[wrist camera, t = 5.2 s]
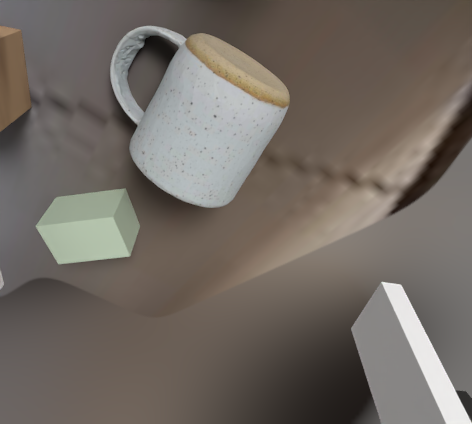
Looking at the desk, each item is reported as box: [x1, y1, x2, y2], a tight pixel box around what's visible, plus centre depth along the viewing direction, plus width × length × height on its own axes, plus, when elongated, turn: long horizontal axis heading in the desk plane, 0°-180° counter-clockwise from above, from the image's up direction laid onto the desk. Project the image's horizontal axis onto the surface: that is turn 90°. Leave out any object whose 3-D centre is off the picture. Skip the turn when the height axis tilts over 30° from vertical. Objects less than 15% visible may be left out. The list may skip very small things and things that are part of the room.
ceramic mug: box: [110, 26, 290, 208], centre depth 21 cm, size 11×8×8 cm
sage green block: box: [36, 188, 140, 264], centre depth 29 cm, size 6×4×4 cm, turn 98°
